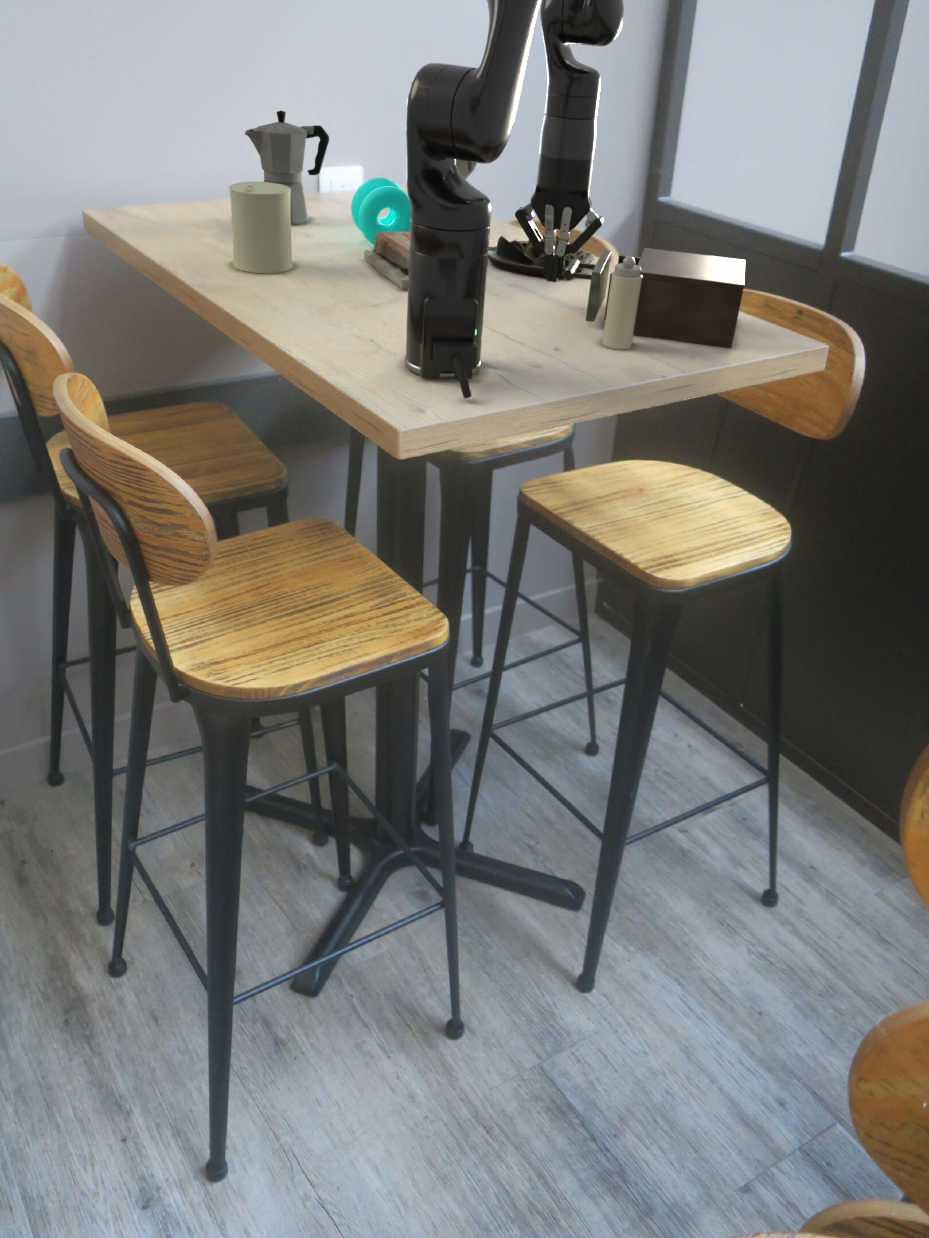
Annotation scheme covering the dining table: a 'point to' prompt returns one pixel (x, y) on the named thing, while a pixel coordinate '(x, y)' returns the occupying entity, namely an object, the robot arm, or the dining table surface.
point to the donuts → (380, 208)
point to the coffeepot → (288, 158)
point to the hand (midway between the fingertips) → (552, 280)
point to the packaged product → (391, 256)
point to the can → (261, 227)
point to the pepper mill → (622, 305)
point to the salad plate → (528, 257)
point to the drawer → (595, 280)
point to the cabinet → (689, 297)
